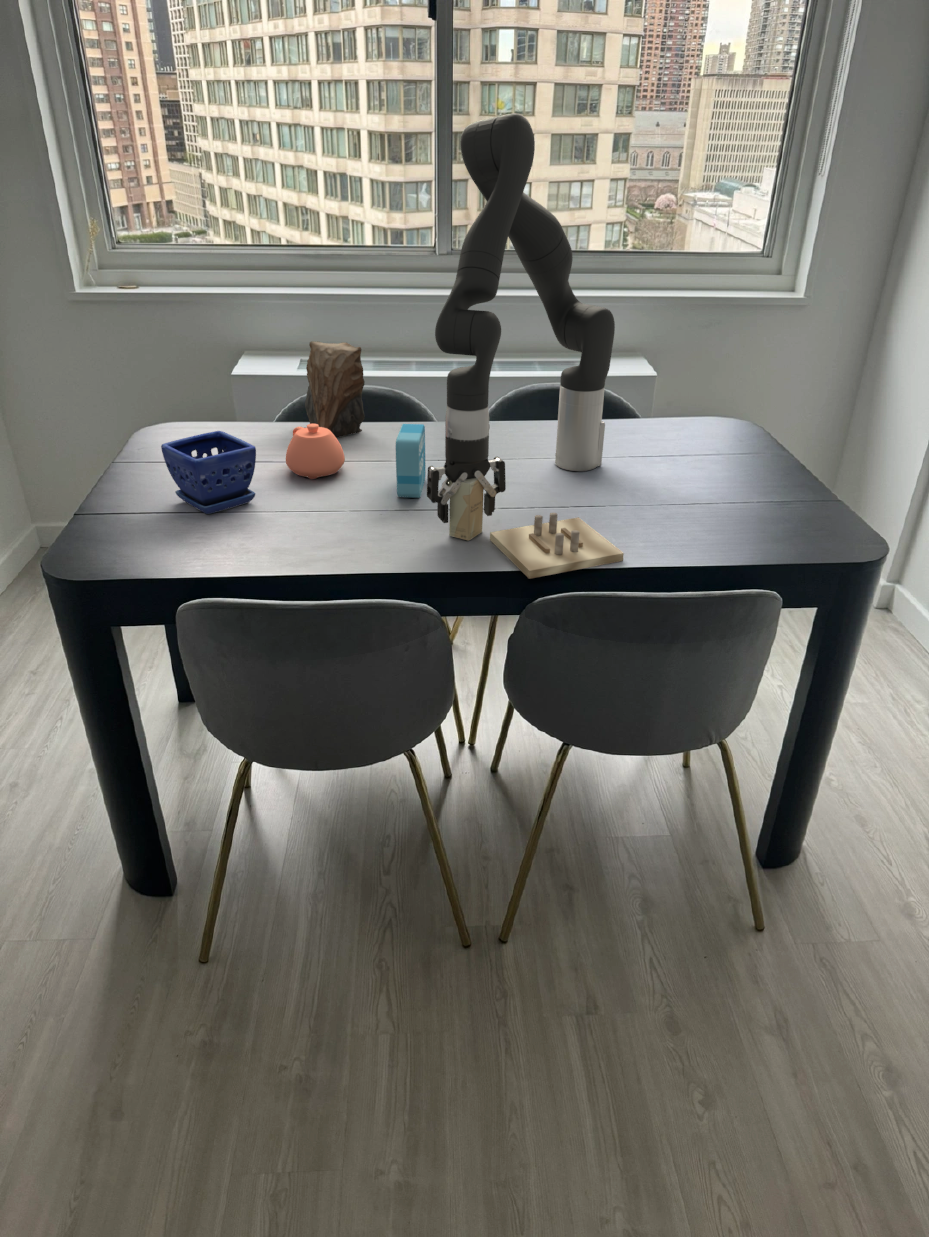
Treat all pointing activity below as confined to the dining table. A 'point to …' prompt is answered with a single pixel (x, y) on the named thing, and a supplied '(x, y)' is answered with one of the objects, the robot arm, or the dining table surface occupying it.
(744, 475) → the dining table surface
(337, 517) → the dining table surface
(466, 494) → the box
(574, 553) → the tray
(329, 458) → the sugar bowl
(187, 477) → the flower pot
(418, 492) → the data package
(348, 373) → the owl
